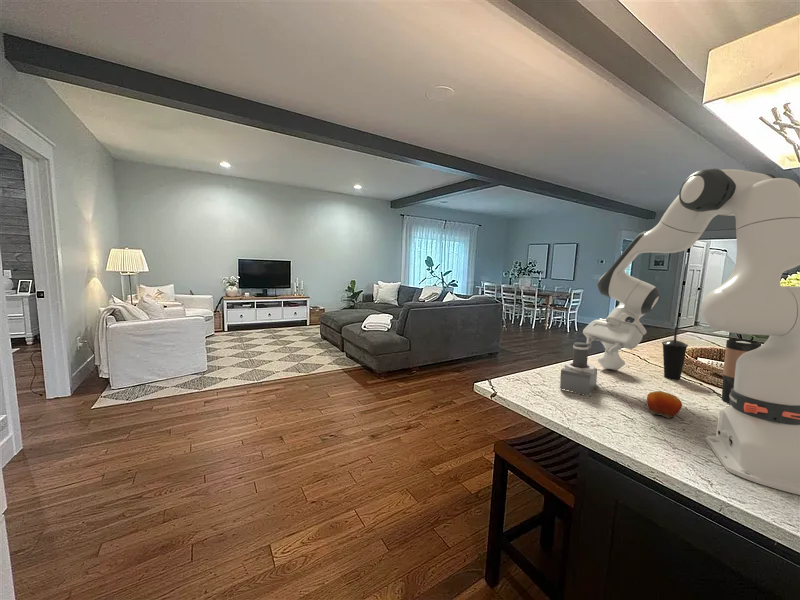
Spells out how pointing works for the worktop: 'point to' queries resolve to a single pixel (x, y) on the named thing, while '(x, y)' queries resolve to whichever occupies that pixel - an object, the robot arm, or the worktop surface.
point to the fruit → (663, 404)
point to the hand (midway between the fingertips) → (597, 350)
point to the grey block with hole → (578, 378)
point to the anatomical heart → (611, 359)
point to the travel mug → (734, 362)
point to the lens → (580, 355)
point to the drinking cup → (673, 357)
